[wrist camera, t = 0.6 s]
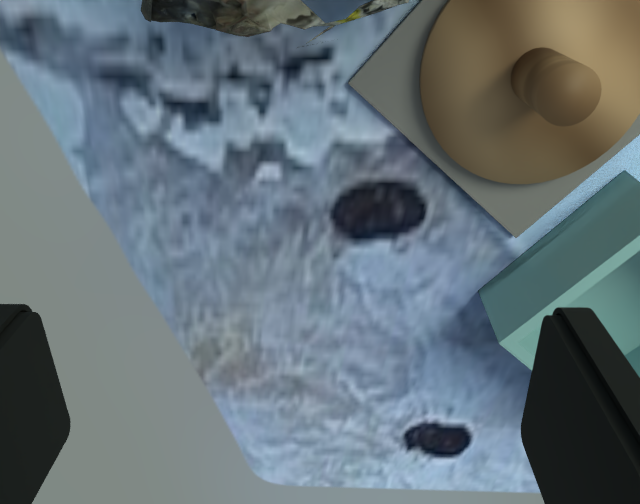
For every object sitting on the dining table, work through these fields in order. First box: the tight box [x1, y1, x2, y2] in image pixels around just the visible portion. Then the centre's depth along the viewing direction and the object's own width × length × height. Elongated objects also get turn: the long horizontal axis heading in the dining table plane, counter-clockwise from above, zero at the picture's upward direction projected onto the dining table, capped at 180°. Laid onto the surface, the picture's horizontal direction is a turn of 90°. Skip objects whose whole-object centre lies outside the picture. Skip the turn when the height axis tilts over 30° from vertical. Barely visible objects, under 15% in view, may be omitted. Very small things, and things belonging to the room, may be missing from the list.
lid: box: [419, 0, 640, 184], centre depth 30 cm, size 13×13×6 cm
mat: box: [348, 0, 640, 238], centre depth 33 cm, size 15×15×1 cm
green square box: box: [478, 170, 640, 377], centre depth 37 cm, size 12×12×6 cm
